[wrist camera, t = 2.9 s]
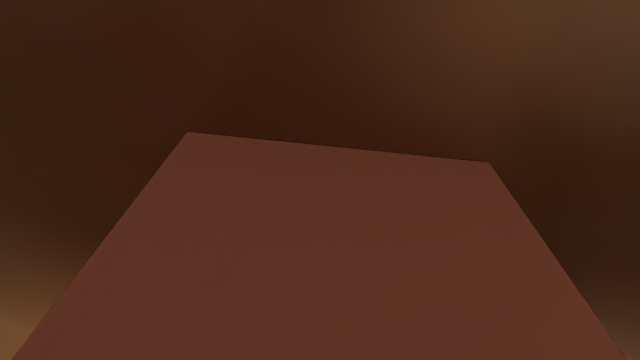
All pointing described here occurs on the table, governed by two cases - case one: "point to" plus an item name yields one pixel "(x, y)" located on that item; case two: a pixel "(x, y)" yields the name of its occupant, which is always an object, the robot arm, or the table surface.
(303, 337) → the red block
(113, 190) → the table surface
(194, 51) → the table surface
